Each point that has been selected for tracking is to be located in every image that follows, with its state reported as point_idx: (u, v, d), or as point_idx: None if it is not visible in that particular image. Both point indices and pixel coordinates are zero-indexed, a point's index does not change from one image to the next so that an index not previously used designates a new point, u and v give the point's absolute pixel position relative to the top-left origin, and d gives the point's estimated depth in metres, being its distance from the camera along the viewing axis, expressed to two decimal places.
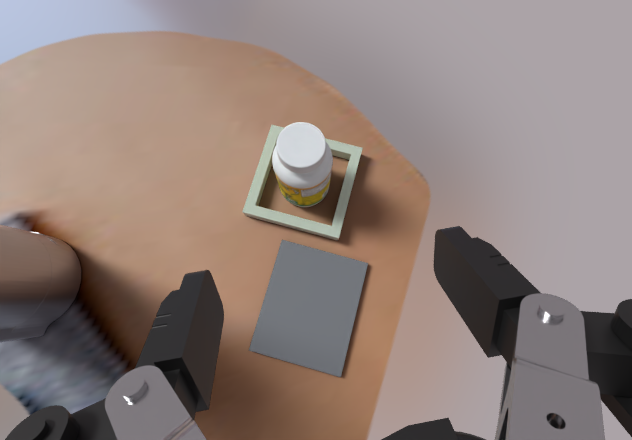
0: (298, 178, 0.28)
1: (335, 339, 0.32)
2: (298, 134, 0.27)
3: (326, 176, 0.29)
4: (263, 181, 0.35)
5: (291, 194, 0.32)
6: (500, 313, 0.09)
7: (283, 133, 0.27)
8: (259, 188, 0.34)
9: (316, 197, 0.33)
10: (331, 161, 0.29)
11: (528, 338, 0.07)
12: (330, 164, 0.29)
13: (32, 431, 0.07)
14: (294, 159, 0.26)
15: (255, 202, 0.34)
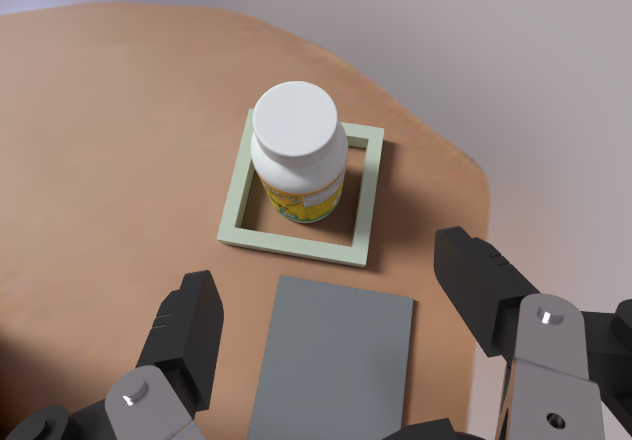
0: (296, 177, 0.17)
1: (379, 426, 0.20)
2: (289, 101, 0.16)
3: (341, 170, 0.18)
4: (244, 190, 0.23)
5: (287, 205, 0.20)
6: (500, 313, 0.09)
7: (263, 102, 0.16)
8: (239, 201, 0.23)
9: (326, 206, 0.21)
10: (346, 145, 0.18)
11: (528, 338, 0.07)
12: (345, 150, 0.18)
13: (32, 432, 0.07)
14: (286, 143, 0.15)
15: (234, 223, 0.23)
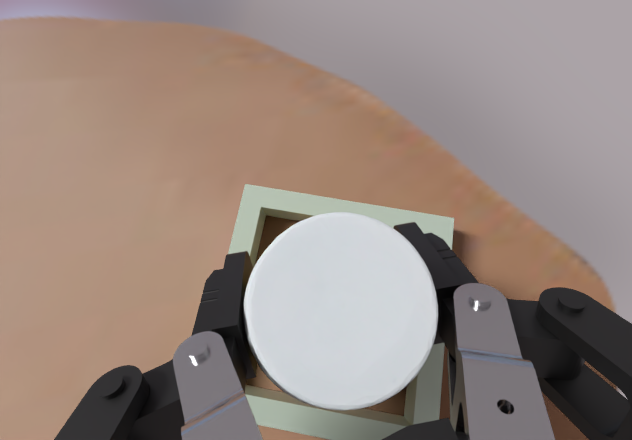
0: None
1: None
2: (326, 263, 0.07)
3: None
4: None
5: None
6: (439, 302, 0.09)
7: (269, 265, 0.07)
8: None
9: None
10: None
11: (454, 323, 0.08)
12: None
13: (112, 386, 0.07)
14: (323, 375, 0.07)
15: None
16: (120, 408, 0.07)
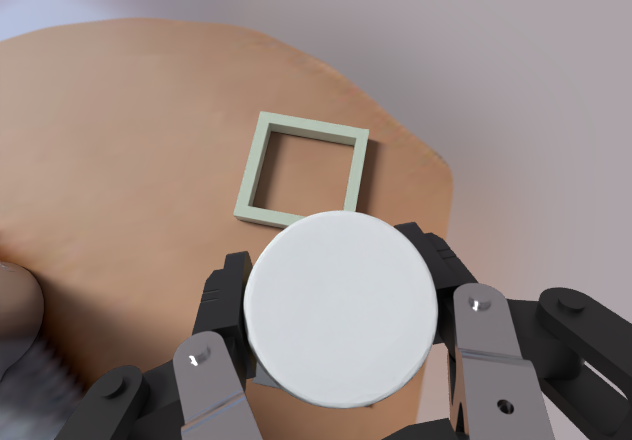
0: None
1: None
2: (326, 261, 0.07)
3: None
4: (255, 177, 0.29)
5: None
6: (439, 302, 0.09)
7: (269, 263, 0.07)
8: (251, 185, 0.29)
9: None
10: None
11: (454, 323, 0.08)
12: None
13: (111, 386, 0.07)
14: (323, 373, 0.07)
15: (247, 202, 0.28)
16: (120, 408, 0.07)
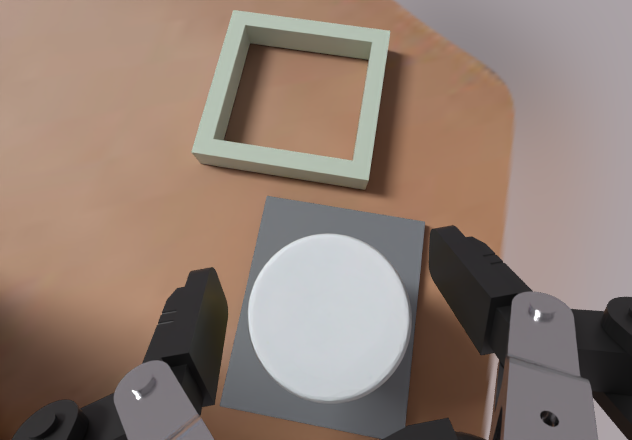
0: None
1: None
2: (316, 277, 0.08)
3: None
4: (226, 100, 0.20)
5: None
6: (492, 311, 0.09)
7: (268, 279, 0.08)
8: (219, 110, 0.19)
9: None
10: (410, 318, 0.11)
11: (518, 335, 0.07)
12: (409, 328, 0.10)
13: (43, 424, 0.07)
14: (311, 372, 0.08)
15: (213, 134, 0.19)
16: None
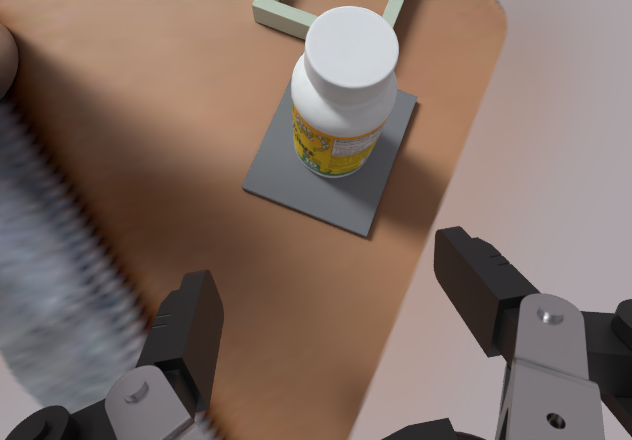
0: (335, 115, 0.16)
1: (364, 187, 0.23)
2: (349, 27, 0.14)
3: (382, 121, 0.17)
4: None
5: (314, 149, 0.19)
6: (500, 313, 0.09)
7: (322, 21, 0.14)
8: None
9: (352, 162, 0.20)
10: (395, 96, 0.16)
11: (528, 338, 0.07)
12: (393, 101, 0.16)
13: (33, 431, 0.07)
14: (337, 70, 0.14)
15: None
16: None
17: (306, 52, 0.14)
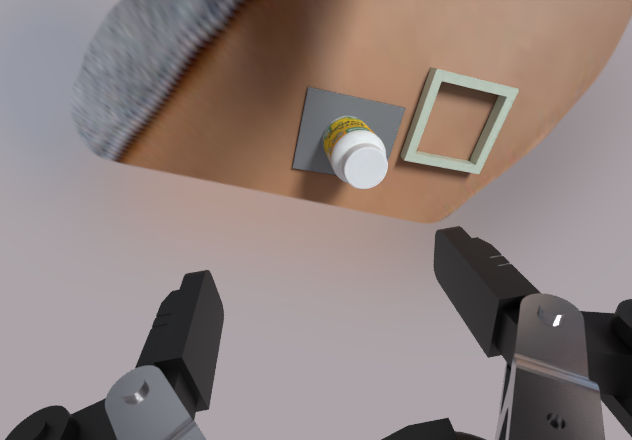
0: (338, 159, 0.31)
1: (321, 162, 0.39)
2: (375, 165, 0.30)
3: (341, 179, 0.33)
4: None
5: (329, 140, 0.34)
6: (500, 313, 0.09)
7: (377, 152, 0.29)
8: (457, 83, 0.35)
9: None
10: None
11: (528, 338, 0.07)
12: None
13: (32, 431, 0.07)
14: (351, 164, 0.29)
15: (444, 81, 0.35)
16: None
17: (360, 148, 0.29)
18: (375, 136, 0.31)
